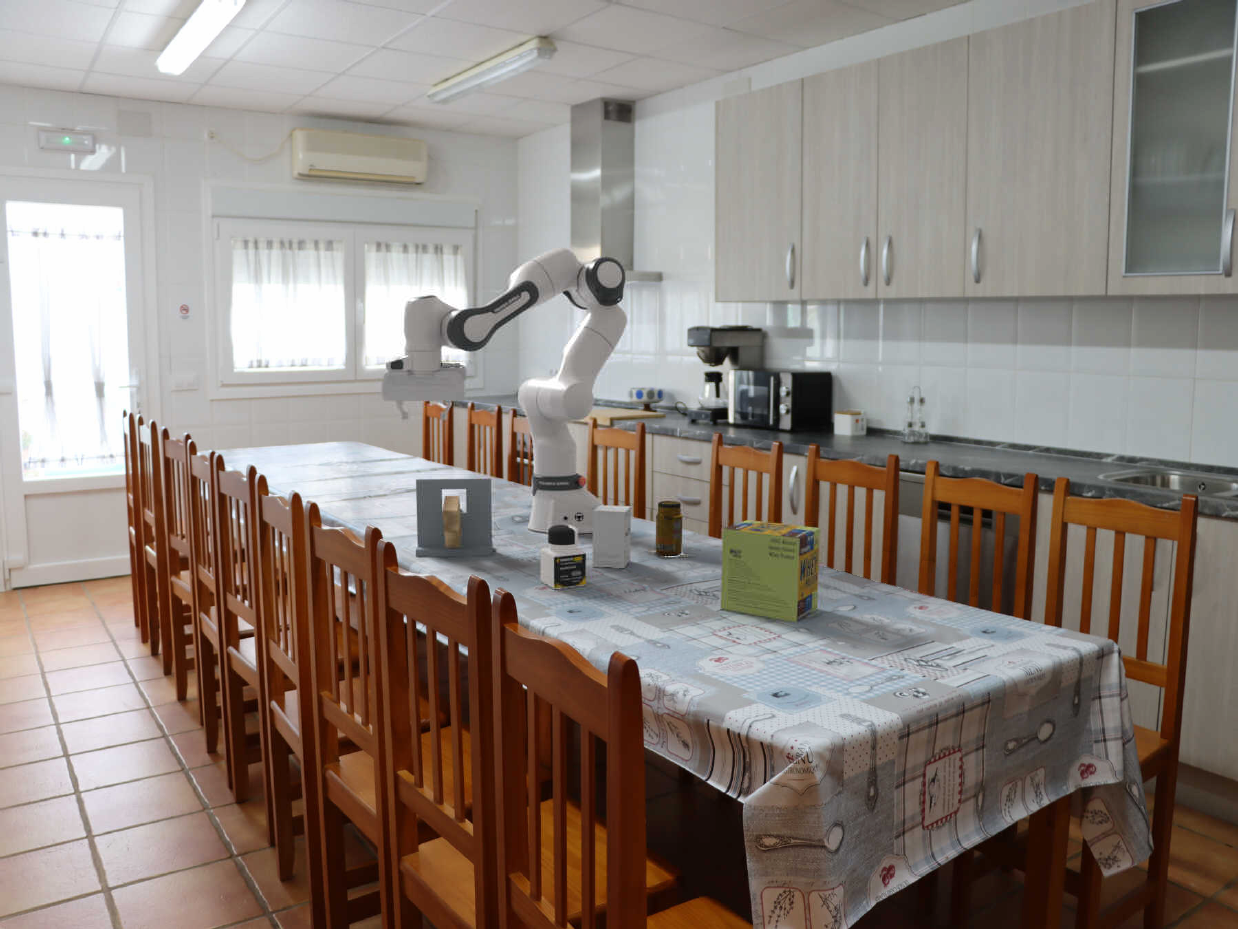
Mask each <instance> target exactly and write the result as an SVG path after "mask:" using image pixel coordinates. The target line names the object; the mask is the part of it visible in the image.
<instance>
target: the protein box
mask: <svg viewBox="0 0 1238 929" xmlns="http://www.w3.org/2000/svg"><path fill="white" fill-rule="evenodd" d="M820 532H821V528H819V527H812V526H802V525H795V524H786V523H779V522H767V521H758V520H751V519H750V520H749V519H746V520H744V521H741V522H738V523H735V524H732V525H729V526H726V527H724V528H722V539H721V540H722V541H721V542H722V545H721V549H722V550H721V582H720V584H721V585H720V587H721V588H720V609H721V610H724V609H725V611H730V612H735V611H736V612H735V613H742V614H747V615H752V616H757V617H763V618H768V619H775V620H779V619H780V621H786V622H791V623H798V622H799V621H800V620H802V619H804V618H806V617H807V616H809V615H810V614H811V613H813V612H815V611H817V610H818V596H819V594H818V593H819V567H820V566H819V565H820V564H819V563H820V562H819V560H820V557H819V556H820V534H821V533H820Z"/></svg>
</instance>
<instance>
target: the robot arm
mask: <svg viewBox="0 0 1238 929" xmlns="http://www.w3.org/2000/svg"><path fill="white" fill-rule="evenodd" d="M625 284H626V271H625V268H624V266H623V265H622V263H620V262H619V261H618V260H617V259H615V258H613V257H611V256H610V257H609V256H604V257H597V258H595V259H593V260H592V261H590V262H588V263H586V264H584V263H581V262H580V261H579V259H578V258H577V256H576V255H575V254H574V253H573V251H572V250H569V249H567V247H566V248H565V247H558V248H555V249H551V250H549V251H546V252H544V253H541V254H539V255H538V256H536V257H533V258H531V259H530V260H528V261H527V262H525V263H523V264H522V265H520V266H519V267H518V268H517V269H515V270H514V271H513V272H512V273H511V274H510V276H509V278H508V283H507V285H508V289H507V290H506V291H504V293H502V294H501V295H499V296H497V297H496V298H494V299H493V300H491V301H488V303H486V304H485V305H483V306H481V307H475V308H465V309H458V308H456V307H454V306H452V305H449V304H447V303H446V302H444V301H442V300H441V299H440V298H439V297H438V296H437V295H433V294H431V295H429V294H428V295H423V296H417V297H412V298H410V299H408V300H407V301H406V303H405V306H404V314H403V334H404V337H405V346H404V355H403V356H399V357H396V358H395V359H392V360H388V361H387V362H386V363H385V369H386V370H387V371H386V372H385V373H384V374H383V377H382V381H381V394H380V395H381V398H382V400H383V401H385V402H396V407H397V409H398V410H399V412H400V413H401V420H403V421H406V420H409V418H410V417H409V411H405V409H404V407H403V406H404V403H405V402H444V406H446V408H445V410H443V411H440V420H441V421H443V420H446V421H447V420H448V412H449V410H450V409H451V407H452V406H453V405H452V402H461V401H464V400H465V399H466V397H467V395H466V394H467V392H466V383H465V381H466V380H467V376H468V374H467V372H468V371H467V368H466V366H464V365H463V364H461V363H460V362H454V363H450V362H442V358H443V357H442V348H443V347H447V348H449V349H452V350H462V351H465V352H471V353H472V352H477V351H480V350H482V349H483V348H485V347H486V345H487V344H488V343H489V342H490V340H491V339H492V338H493V336H494V334H495V333H496V332H497V331H498V330H499V329H500V328H501V327H503V326H504V325H505V324H507V323H509V322H510V321H512V320H514V319H515V318H516V317H518V316H519V315H521V314H523V312H525V311H529V310H531V309H533V308H536V307H539V306H540V305H542V304H544V303H546V302H548V301H550V300H551V299H554V298H555V297H556V296H558V295H559V294H561V293H562V294H563V295H564V296H565V297H566V298H567V299H568V300H569V302H570V303H571V305H573V306H574V307H576V308H578V309H580V310H583V311H584V310H585V311H586V312H585V316H584V318H583V320H582V321H581V322H580V324H579V325H578V326H577V328H576V329H575V331H574V332H573V334H572V336H571V337H570V338H569V339H568V341H567V342H566V344H565V346H564V347H563V348H562V351H561V359H562V360H561V365H560V367H559V370H558V372H557V374H555V375H554V376H542V375H541V376H536V377H533V378H529V379H528V380H525V381H524V382H523V383H522V384H521V385H520V387H519V389H518V392H517V402H518V405H519V407H520V409H521V410H522V411H523V413H524V414H525V417H526V420H527V423H528V428H529V430H530V431H529V432H530V436H531V440H532V448H533V450H532V452H533V454H532V455H533V473H532V476H531V493H532V504H531V512H530V517H529V521H528V525H527V528H528V529H529V530H531V531H536V532H540V533H547V534H548V529H549V528H550V527H552V526H555V525H571V526H574V527H576V528H577V529H578V534H591V533H592V534H593V511H594V510H595V509H596V508H598V507H599V506H605V505H604V503H603V501H601V500H600V499H599V498H598V497H596V496H595V494H593V493H591V492H590V491H589V490H588V489H586V488H585V486H586V484H587V479H586V477H585V476H584V475H582V474H580V473H577V442H576V441H575V439H574V437H573V436H572V434H571V433H570V429H569V428H568V427H569V426H568V423H573V422H578V421H581V420H584V419H585V418H587V417H589V415H590V413H592V410H593V407H594V405H595V404H594V403H595V402H594V401H595V398H594V394H593V389H594V385H595V382H596V380H597V377H598V376H599V374H600V371H601V370H602V368H603V367H604V366H605V364H606V363H607V360H608V359H609V357H611V354H612V353H613V352H614V350H615V349H616V347H617V346H618V343H619V341H620V340H621V338H622V336H623V334H624V331H625V329H626V327H627V323H628V318H627V315H626V313H625V311H624V310H623V308H621V307H620V305H619V303H620V302H622V300H623V297H624V289H625Z"/></svg>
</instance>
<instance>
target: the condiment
mask: <svg viewBox="0 0 1238 929" xmlns="http://www.w3.org/2000/svg"><path fill="white" fill-rule="evenodd" d="M681 506H682V504H681V503H680V502H679V501H674V500H662V501H659V502H658V503H657V514H656V516H655V521H656V522H655V549H650V550H648V552H650V553H651V554H653V555H655V556H657V557H658V558H661V559H680V558H679V557H668V556H677V555H679V554H681V551H682V548H683V515H682V509H681ZM654 551H656V552H654ZM665 556H667V557H665ZM680 556H684V557H683V558H688V556H689V557H691V555H690V554H688V553H686V554H684V555H680ZM686 556H687V557H686Z"/></svg>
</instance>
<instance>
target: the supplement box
mask: <svg viewBox="0 0 1238 929" xmlns="http://www.w3.org/2000/svg"><path fill="white" fill-rule="evenodd" d="M631 511H632V507H631V506H629V505H604V506H599V507H598V508H596V509H595V510H594V511H593V533H592V567H594V568H603V567H613V568H612V569H619V568H624V569H625V568H626V566H627V565H628V564H629V563H630V561H631V541H632V540H631V535H632V534H631V533H632V532H631V527H632V526H631V525H632V524H631V523H632V521H631V518H632V512H631Z"/></svg>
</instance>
